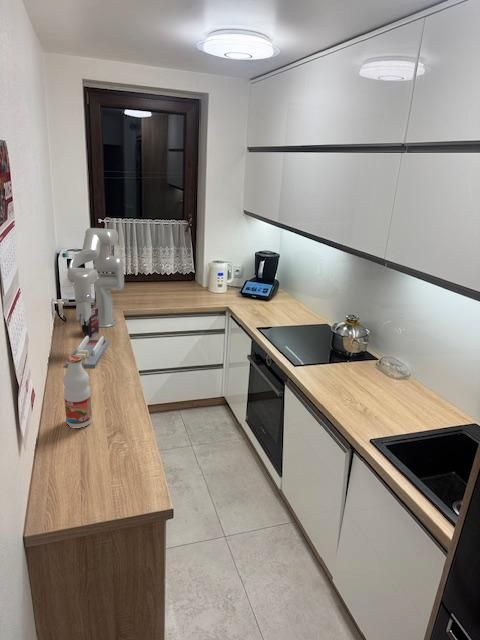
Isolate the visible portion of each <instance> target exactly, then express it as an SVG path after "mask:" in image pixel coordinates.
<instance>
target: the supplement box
mask: <svg viewBox="0 0 480 640" xmlns="http://www.w3.org/2000/svg"><path fill="white" fill-rule="evenodd" d="M89 330H90V331H89V333H84V334H83V335H84V338H85V337H86V336H89V339H94V338H95V337H96V336H98V335H99V334H100V327H99V320H98V308H96V306H94V307H93V306H91V316H90V318H89Z"/></svg>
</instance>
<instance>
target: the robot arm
mask: <svg viewBox="0 0 480 640" xmlns="http://www.w3.org/2000/svg"><path fill="white" fill-rule="evenodd" d="M118 241H119V233H118V230H116V229H114V228H101V227H100V228H99V227H90V228H87V229H85V234H84V239H83V245H82V250H81V251H80V252H78V253H77V254H76V255H74V256H73V257H72V258H71V260H70V261H69V264H68V269H67V274H66V275H67V280H68V281H69V282H70V283H73V288H74V301H75V302H76V309H75V310H76V311H75V314H76V316H75V319H76V322H77V323H78V322H79V321H80V326H81V333H82V334H83V333H89V331H90V330H89V318H90V316H91V307H92V305H91V302H92V300H93V298H92V286H91V285H93V287H94V290H95V291H94V293H95V304H96V305H95V308H98V320H99V328H110V327H113V326H115V325H116V324H117V321H116V320H115V319H114V303H113V302H114V301H113V299H114V298H113V295H112V292H111V291H120V290H123V289H124V288H125V275H124V274H125V273H124V272H125V271H124V268H125V267H124V262H123V258H122V257H120V256H118V255H111V254H110V247H113V246H115V245H117V243H118ZM89 262H94V268H92V267H87V268H86V267H80V266H81V265H84V264H87V263H89ZM98 272H99V273H98Z"/></svg>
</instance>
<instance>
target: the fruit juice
mask: <svg viewBox="0 0 480 640" xmlns="http://www.w3.org/2000/svg"><path fill="white" fill-rule="evenodd" d="M67 361H68V363H69V365H68V367H67V369H66V372H65V374H64V375H63V379H62V380H63V385H64V389H63V390H64V391H63V397H64V409H65V420H66V421H65V422H66V425H67V424H68V425H69V426H71V427H83V426H86V425H88V424H90V425H91V423H92V422H91V421H93V415H92V413H93V412H92V411H93V410H92V401H91V400H92V398H91V397H92V396H91V395H92V394H91V389H90V385H89V382H90V377H89V374H88V372H87V371H86V370H85V368H83V367H82V364H81V362H82V358H81V356H79V355H73V356H71V355H70V356H68V357H67ZM68 425H67V426H68ZM69 426H68V427H69ZM88 426H89V425H88Z"/></svg>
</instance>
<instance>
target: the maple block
mask: <svg viewBox="0 0 480 640" xmlns="http://www.w3.org/2000/svg"><path fill="white" fill-rule="evenodd" d="M76 355H79V356H81V358H82V362H81V364H86V362H87V361H88V359H89V353H88V350H79V351H78V352H77V353H76Z"/></svg>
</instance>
